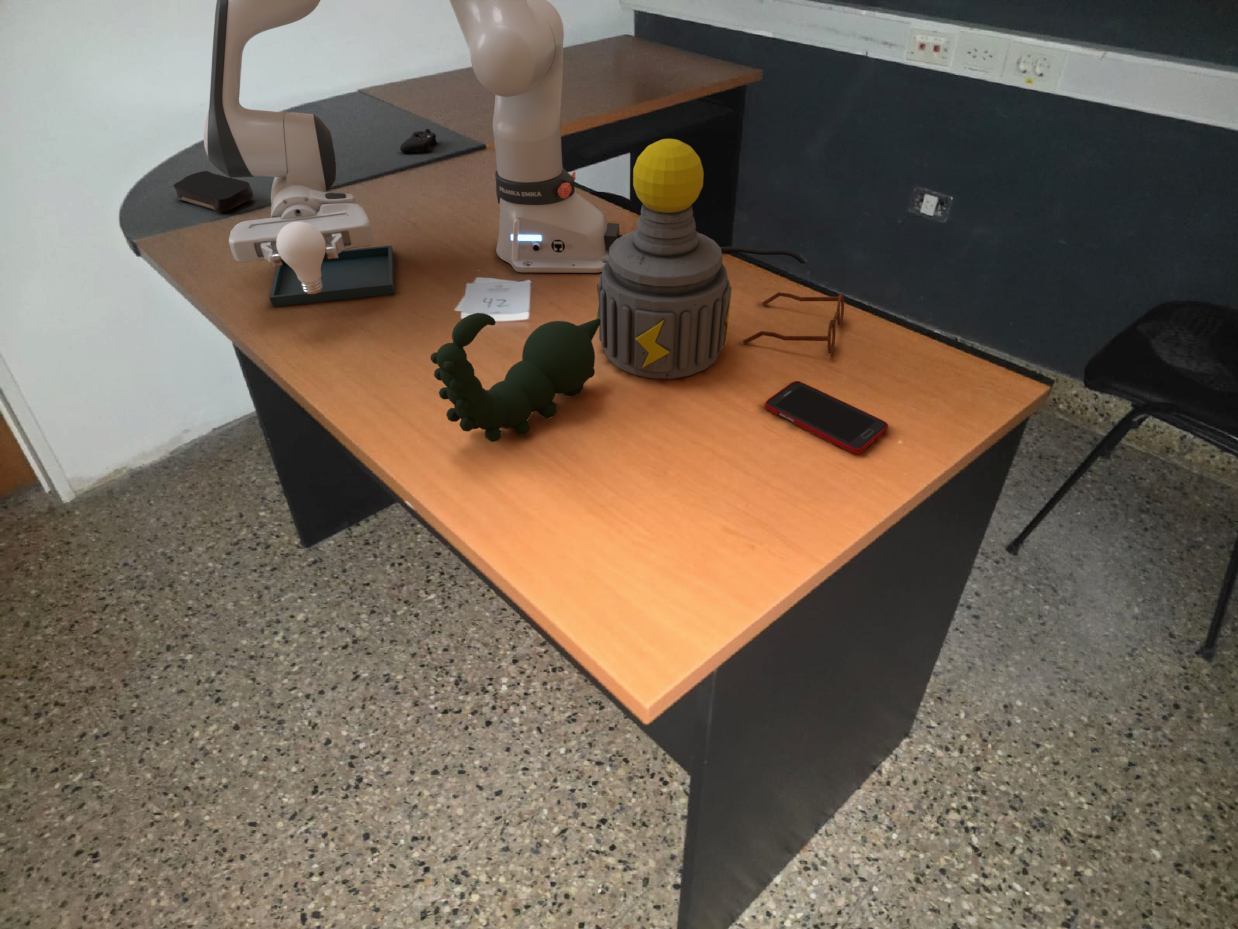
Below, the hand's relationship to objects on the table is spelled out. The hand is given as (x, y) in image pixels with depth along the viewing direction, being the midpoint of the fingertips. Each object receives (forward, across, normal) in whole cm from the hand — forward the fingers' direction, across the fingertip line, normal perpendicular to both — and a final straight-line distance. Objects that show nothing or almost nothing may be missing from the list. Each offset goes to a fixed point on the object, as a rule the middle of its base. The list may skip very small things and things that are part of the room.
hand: (304, 257), depth 114 cm
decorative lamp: (+22, +47, +12) cm, 53 cm away
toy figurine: (+31, +25, +12) cm, 42 cm away
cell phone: (+45, +61, +12) cm, 77 cm away
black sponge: (-60, -18, +13) cm, 63 cm away
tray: (-17, +3, +12) cm, 21 cm away
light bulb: (-1, 0, +6) cm, 6 cm away
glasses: (+24, +68, +12) cm, 73 cm away
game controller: (-78, +25, +12) cm, 83 cm away
